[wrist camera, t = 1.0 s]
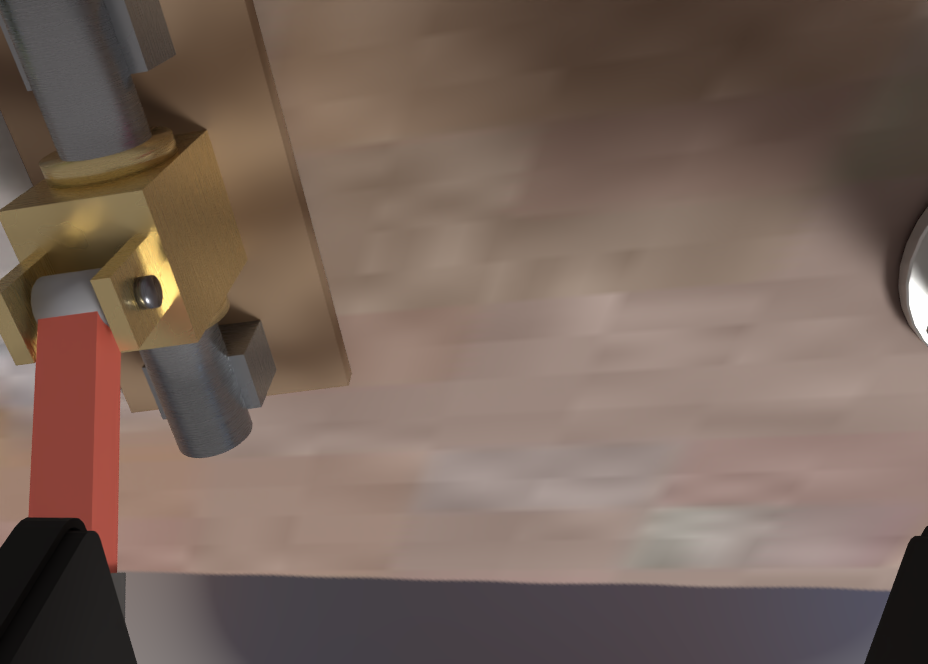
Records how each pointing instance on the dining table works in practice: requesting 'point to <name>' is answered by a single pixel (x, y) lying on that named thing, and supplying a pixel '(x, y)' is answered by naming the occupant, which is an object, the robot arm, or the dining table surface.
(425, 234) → the dining table surface
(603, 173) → the dining table surface
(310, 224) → the mount board
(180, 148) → the valve
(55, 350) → the lever
